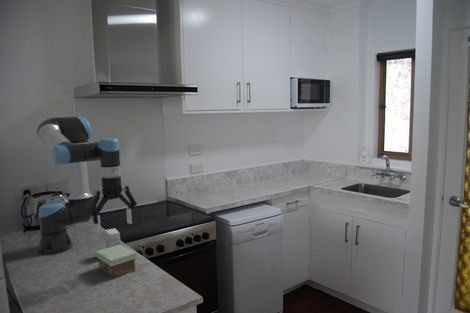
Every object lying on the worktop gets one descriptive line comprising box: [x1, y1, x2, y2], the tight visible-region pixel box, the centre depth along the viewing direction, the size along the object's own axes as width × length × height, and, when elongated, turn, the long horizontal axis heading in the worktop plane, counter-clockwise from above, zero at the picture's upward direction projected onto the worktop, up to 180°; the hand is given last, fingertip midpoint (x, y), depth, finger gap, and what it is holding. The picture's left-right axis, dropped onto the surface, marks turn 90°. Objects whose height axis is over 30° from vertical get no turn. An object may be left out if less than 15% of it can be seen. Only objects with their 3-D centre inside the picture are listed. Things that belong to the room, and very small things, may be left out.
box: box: [98, 258, 136, 279], centre depth 151 cm, size 14×9×6 cm, turn 45°
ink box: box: [104, 227, 122, 248], centre depth 167 cm, size 9×5×12 cm, turn 33°
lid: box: [95, 244, 137, 266], centre depth 150 cm, size 14×11×3 cm
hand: (114, 227), depth 149 cm, fingers open, 13 cm apart
